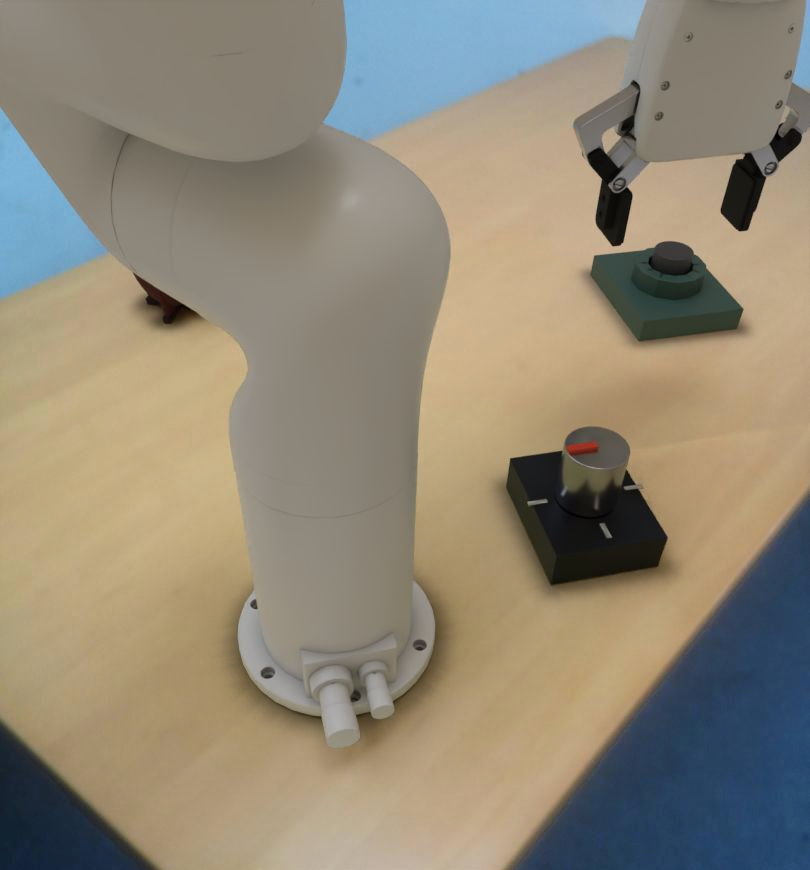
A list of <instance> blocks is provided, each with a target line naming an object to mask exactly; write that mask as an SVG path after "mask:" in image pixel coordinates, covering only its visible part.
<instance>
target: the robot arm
mask: <svg viewBox="0 0 810 870" xmlns="http://www.w3.org/2000/svg"><path fill="white" fill-rule="evenodd" d="M806 9H807V0H645V4H644V6H643V9H642V12H641V14H640V17H639V20H638V23H637V26H636V30H635V31H634V35H633V39H632V43H631V46H630V50H629V52H628V57H627V61H626V65H625V67H624V73H623V77H622V81H621V84H620V89H619V92H617V93H615V94H613V95H612V96H610V97H609V98H607V99H606V100H604V101H602V102H601V103H599V104H597V105H595V106H594V107H592V108H590V109H589V110H587V111H586V112H584V113H582V114H581V115H579V116H577V117H576V118H575V119H574V121H573V123H572V128H573V131H574V134H575V137H576V140H577V143H578V145H579V148H580V150H581V156H582V158H583V159H584V160H585V161H586V162H587V164H588V165H589V167H591V169H592V170H593V171H594V172H595V173H596V174H597V176H599V178H600V179H601V182H600V187H599V192H598V193H599V194H598V199H597V205H596V209H595V210H596V211H595V216H594V217H595V218H594V219H595V225H596V227H597V228H598V230H599V231H600V232H601V233H602V236H604V238H605V239H606V240H607V242H608V243H609V244H610V245H611V247H613V248H614V247H621V246H622V244H624V243H625V242H624V241H625V236H626V232H627V227H628V223H629V218H630V213H631V209H632V208H631V207H632V203H633V197H634V194H633V191H632V190H631V189H630V188H629V187H628V186H630V184H631V183H632V182H633V181H634V180H635V179H636V178H637V177H638V176H639V175H640V174H641V173H642V171H644V170H645V168H646V167H647V166H648V165H649V164H650V163H668V162H679V161H689V160H701V159H709V158H718V157H727V156H735V155H736V156H737V155H742V156H743V158H736V159H735V162H734V164H733V165H732V168H731V171H730V174H729V177H728V181H727V183H726V184H727V185H726V188H725V192H724V196H723V199H722V202H721V206H720V209H719V210H720V211H719V212H720V214H721V215H722V217H724V218H725V220H726V221H728V223H729V224H730V225H731V226H732V227H733V228H734V229H735V230H736V231H738V232H739V233H740V232H747V231H748V230H749V229H750V226H751V223H752V219H753V216H754V214H755V212H756V211H757V208H758V205H759V202H760V199H761V197H762V193H763V189H764V187H765V183H766V181H767V178H769V177H772V176H773V175H775V174H776V173H777V171H778V169H779V167H780V162H781V161H783V160H784V159H785V158H786V157H787V156H789V154H790V153H792V152H793V151H794V150H795V149H796V148H797V147H799V145H800V144H801V142H802V141H803V140H802V139H803V134H804V133H807V131H808V130H809V129H810V92H809V91H807V90H806V89H804V88H802V87H801V86H799V85H797V84H796V83H794V82H793V80H794V75H795V70H796V67H797V63H798V58H799V53H800V47H801V42H802V37H803V31H804V25H805V17H806V16H805V15H806ZM347 51H348V36H347V24H346V13H345V4H344V0H0V110H2V112H3V113H4V115H5V116H6V118H7V119H8V121H9V122H10V123H11V125H12V126H13V128H14V129H15V131H16V132H17V133H18V135H19V136H20V137H21V138H22V140H23V141H24V143H25V145H26V146H27V147H28V148H29V150H30V152H32V154H33V155H34V156H35V157H36V159H37V161H38V162H39V164H40V165H41V166H42V168H43V169H44V171H45V172H46V173H47V174H48V176H49V177H50V179H51V180H52V182H53V183H54V184H55V186H56V187H57V188H58V190H59V191H60V192H61V194H62V196H63V197H64V198H65V199H66V201H67V202H68V203H69V204H70V206H71V208H72V209H73V210H74V212H75V213H76V214H77V216H78V217H79V219H81V221H82V222H83V224H84V225H85V226H86V227H87V229H88V230H89V231H90V232H91V234H92V235H93V236H94V237H95V239H97V241H98V242H99V243H100V244H101V245H102V246H103V248H104V249H105V250H106V251H107V252H108V253H109V254H110V255H111V256H112V257H113V258H114V259H115V260H117V261H118V262H119V263H120V264H121V265H122V266H124V267H125V268H126V269H127V270H129V271H130V272H133V273H135V274H136V275H138V276H139V277H141V278H142V279H144V280H145V281H147V282H148V283H150V284H152V285H153V286H154V287H156V288H158V289H159V290H161V291H163V292H164V293H166V294H168V295H169V296H171V297H172V298H174V299H176V300H177V301H179V302H181V303H182V304H184V305H186V306H187V307H189V308H191V309H192V310H191V309H190V310H191V311H194V312H195V313H197V315H199V316H200V317H201V318H203V319H204V320H206V321H207V322H209V323H211V324H212V325H214V326H215V327H217V328H219V329H220V330H222V331H223V332H225V333H226V334H227V335H228V336H229V337H231V338H232V339H233V340H234V342H236V343H237V345H238V346H239V347H240V349H241V351H242V352H243V354H244V358H245V361H246V367H247V371H246V375H245V377H244V379H243V381H242V383H241V384H240V385H239V386H238V388H237V390H236V392H235V394H234V396H233V397H232V400H231V403H230V405H229V413H228V439H229V448H230V454H231V459H232V460H231V461H232V466H233V471H234V475H235V480H236V486H237V493H238V499H239V506H240V510H241V516H242V517H241V518H242V521H243V529H244V534H245V540H246V541H245V542H246V546H247V547H246V548H247V552H248V560H249V565H250V571H251V576H252V577H251V578H252V584H253V589H254V590H253V591H252V592H251V593H250V595H249V596H248V598H247V600H246V601H245V603H244V605H243V607H242V610H241V613H240V615H239V619H238V627H237V642H238V650H239V654H240V658H241V662H242V664H243V667H244V669H245V671H246V673H247V675H248V677H249V678H250V680H251V681H252V682H253V684H254V685H256V687H257V688H258V689H259V690H260V692H261V693H263V694H264V695H265V696H267V697H268V698H270V699H271V700H272V701H274V702H275V703H277V704H279V705H281V706H283V707H285V708H287V709H289V710H291V711H294V712H297V713H301V714H305V715H308V716H314V717H321V720H322V726H323V732H324V736H325V742H326V745H327V746H328V747H330V748H332V749H345V748H348V747H350V746H353V745H355V744H356V743H357V742H358V741H360V738H361V732H360V728H359V727H360V725H359V722H358V718H357V715H362V714H365V713H370V714H371V718H373V719H376V720H383V719H386V718H389V717H391V716H392V715H394V714H395V711H396V709H395V708H396V707H395V705H394V701H395V700H397V699H398V698H400V697H402V696H403V695H404V694H405V693H407V692H409V690H410V689H411V688H412V687H413V686H414V685H415V684H416V683H417V682H418V681H419V680H420V678H421V676H422V675H423V673H424V672H425V671H426V670H427V668H428V665H429V663H430V660H431V658H432V655H433V652H434V648H435V647H434V646H435V640H436V620H435V615H434V610H433V607H432V604H431V602H430V600H429V599H428V596H427V594H426V593H425V591H424V590H423V589H422V588H421V586H420V585H419V583H418V582H417V581H416V580H415V579H414V567H415V565H414V564H415V561H414V560H415V540H416V516H417V515H416V514H417V492H418V490H417V489H418V488H417V487H418V465H419V464H418V463H419V462H418V460H419V432H420V416H421V415H420V414H421V403H422V402H421V401H422V395H423V386H424V385H423V384H424V377H425V372H426V366H427V361H428V355H429V352H430V348H431V343H432V339H433V335H434V331H435V329H436V324H437V321H438V317H439V314H440V311H441V307H442V303H443V300H444V297H445V293H446V288H447V284H448V280H449V274H450V267H451V266H450V265H451V258H452V250H451V249H452V247H451V246H452V245H451V235H450V231H449V226H448V223H447V219H446V217H445V215H444V212H443V210H442V207H441V206H440V204H439V202H438V199H437V198H436V196H435V195H434V194H433V192H432V191H431V189H430V188H429V187H428V185H426V183H425V182H424V181H423V180H422V179H421V178H420V177H419V176H418V175H417V174H416V173H415V172H414V171H413V170H411V168H410V167H408V166H407V165H406V164H405V163H403V162H402V161H400V160H399V159H397V158H395V156H393V155H391V154H389V153H388V152H386V151H385V150H384V149H382V148H380V147H378V146H376V145H375V144H372V143H370V142H368V141H366V140H364V139H362V138H361V137H358V136H356V135H354V134H351V133H349V132H345V131H344V130H342V129H338V128H337V127H334V126H331V125H329V124H326V123H325V122H324V121H325V120H326V119H327V117H328V115H329V114H330V113H331V110H332V109H333V108H334V106H335V103H336V101H337V99H338V97H339V94H340V91H341V88H342V84H343V81H344V76H345V71H346V62H347ZM786 106H787V107H788V108H789V112H788V114H787V115H786V117H785V120H784V122H781V120H782V118H783V115H784V112H785V109H786ZM612 128H613V130H614V132H615V134H616V135H617V136H618V137H620V138H619V139H618V140H617V141H616V142H615V144H614V145H613V146H612V147H611V148H610V149H609V150H608V151H607V152H606V151H605V148H604V143H603V140H602V139H603V136H604V134H605V133H606V132H607V131H609V130H610V129H612ZM133 273H132V274H133Z"/></svg>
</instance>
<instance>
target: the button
mask: <svg viewBox="0 0 810 870" xmlns="http://www.w3.org/2000/svg"><path fill="white" fill-rule="evenodd" d="M654 247H655V248H654ZM654 247H653V248H654V252H653V256H652V260H651V268H652V269H654V270H656V271H658V272H660V273H662V274H667V275H673V276H678V275H686V274H687V273H688V272H689V269H690V266H691V262H692V259H693V255H694V254H695V252H694V250H693V248H692V247H690V246H689V245H688V244H686V243H683V242H680V241H675V240H665V241H660V242H658V243H657V244H656V245H655V246H654Z"/></svg>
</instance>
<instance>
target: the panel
mask: <svg viewBox="0 0 810 870" xmlns="http://www.w3.org/2000/svg"><path fill="white" fill-rule="evenodd" d="M562 451H563V450H556V451H550V452H549V451H548V452H542V453H535V454H530V455H529V454H528V455H523V456H522V455H521V456H516V457H510V458H509V463H508V470H507V477H506V485H505V488H506V491H507V492H508V495H509V498H510V499H511V502H512V504H513V506H514V509H515V511H516V513H517V515H518V518H519V519H520V522H521V524H522V526H523V528H524V530H525V532H526V535H527V537H528V539H529V541H530V543H531V546H532V548H533V550H534V552H535V554H536V556H537V559H538V560H539V563H540V564H541V565H540V566H541V567H542V570H543V571H544V574H545V576H546V579H547V580H548V583H549V584H550V586H554V585H561V584H565V583H572V582H577V581H583V580H588V579H595V578H600V577H606V576H611V575H616V574H617V575H618V574H622V573H628V572H634V571H640V570H646V569H651V568H657V567H659V565H660V562H661V559H662V556H663V554H664V550H665V548H666V545H667V541H668V539H669V537H668V535H667V533H666V532H665V530H664V529H663V528H664V527H662V525H661V524H660V522H659V520H658V518H657V517H656V515H655V513H654V512H653V511H652V509H651V507H650V506H649V505H650V504H649V503H648V502H647V500H646V499H645V497H644V495H643V494H642V492H641V490H643V489H644V485H643V484H642V483H638V484H636V482H635V481H634V479H633V477H632V476H631V474H630V472H629V471H628V469H627V468H626V471H625V475H624V479H623V482H622V486H621V490H620V493H619V497H618V501H617V504H616V506H615V507H614V509H613V510H612V511H611V512H609V513H607V514H605V515H603V516H599V517H583V516H579V515H576V514H573V513H571V512H569V511H567V510H566V509H564V508H563V507H562V506H561V505H560V504H559V503H558V501H557V499H556V496H555V487H556V482H557V477H558V472H559V467H560V462H561V457H562Z"/></svg>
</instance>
